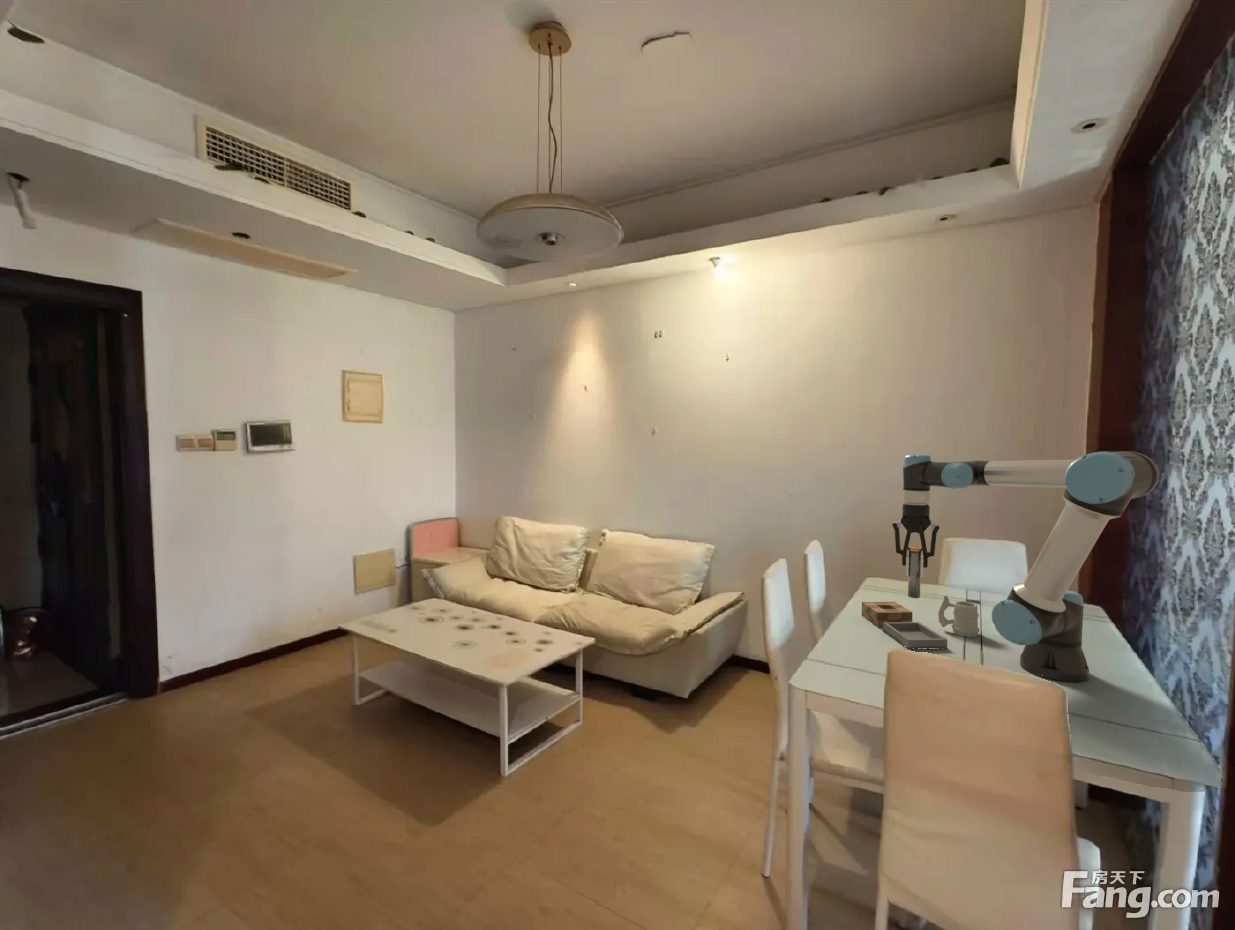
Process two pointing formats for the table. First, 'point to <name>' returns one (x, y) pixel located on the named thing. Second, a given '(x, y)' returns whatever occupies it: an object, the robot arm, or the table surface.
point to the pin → (914, 572)
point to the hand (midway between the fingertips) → (914, 576)
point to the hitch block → (885, 612)
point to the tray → (914, 635)
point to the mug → (960, 617)
